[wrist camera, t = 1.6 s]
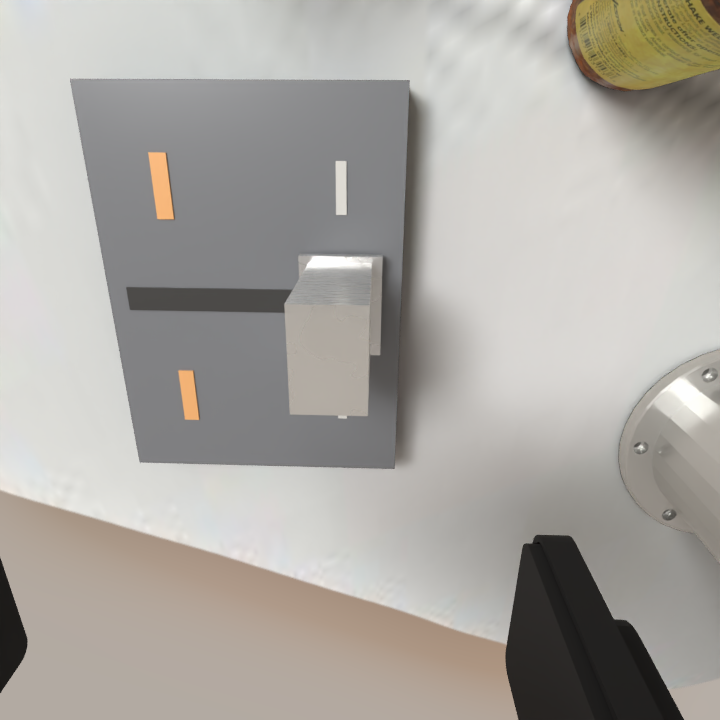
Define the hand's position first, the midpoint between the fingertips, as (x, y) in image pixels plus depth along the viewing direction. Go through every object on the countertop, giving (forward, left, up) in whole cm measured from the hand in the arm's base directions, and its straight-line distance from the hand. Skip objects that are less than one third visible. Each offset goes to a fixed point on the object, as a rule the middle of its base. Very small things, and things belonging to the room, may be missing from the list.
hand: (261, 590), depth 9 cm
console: (+4, 0, -21) cm, 22 cm away
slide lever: (0, 0, -18) cm, 18 cm away
